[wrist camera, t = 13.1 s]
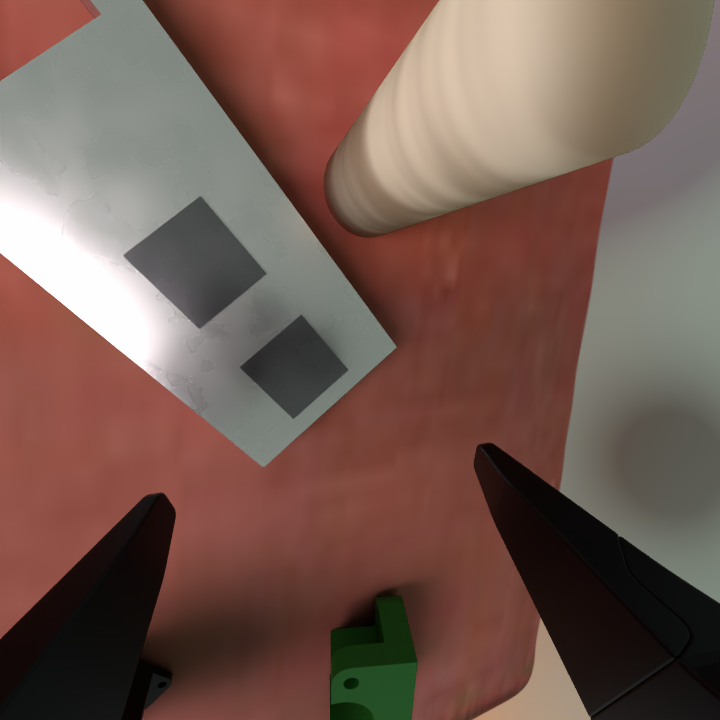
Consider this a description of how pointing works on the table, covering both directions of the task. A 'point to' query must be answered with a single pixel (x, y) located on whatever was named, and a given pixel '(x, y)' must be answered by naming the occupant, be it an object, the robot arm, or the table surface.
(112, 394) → the table surface
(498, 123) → the pin
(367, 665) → the clamp
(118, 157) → the grey slotted plate
